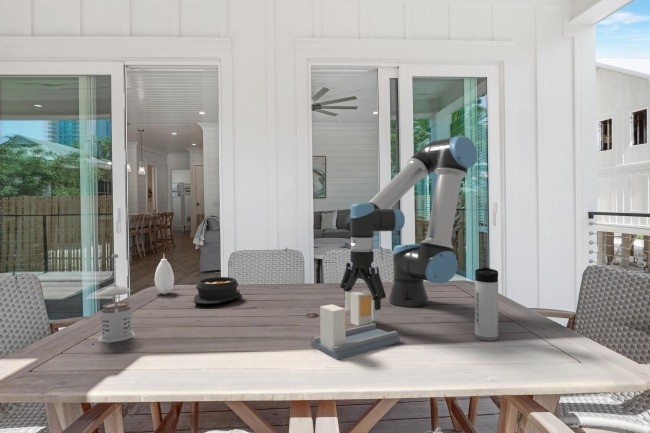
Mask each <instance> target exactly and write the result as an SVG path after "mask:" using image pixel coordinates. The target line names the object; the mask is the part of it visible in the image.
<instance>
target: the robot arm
mask: <svg viewBox="0 0 650 433" xmlns="http://www.w3.org/2000/svg"><path fill="white" fill-rule="evenodd" d="M477 159H478V152H477V147H476V146H475V144H474V141H472V140H471V139H470V138H469V137H467V136H465V135H464V136H463V135H460V136H459V135H458V136H452V137H448V138H443V139H438V140H433V141H431V142H429V143H427V144H425V145H424V146H423V147H422V148H420V149H419V150H418V151H417V152H415V153H414V154H413V155H412V156H411V157H410V158H409V159H408V161H407V164H406V165H405V167H403V168H402V170H400V171H399V172H398V173H397V174H396V175H395V176H394V177H393V178H392V179H391V180H390V181H389V182H388V183H387V184H385V186H384V187H383V188H381V189H380V191H379V192H377V193H376V194H375V195H374V196H373V197H372V199H370V200H369V201H368V202H367V203H366V202H362V203H361V202H360V203H359V202H356V203H355V202H354V203H352V204H351V206H350V215H349V217H350V250H351V251H350V262H346V264H345V271H344V274H343V277H342V280H341V282H340V286H339V287H340V289H343V292H344V309H345V311H346V312H349V311H351V293H352V292H354V291H353V287H354V285H355V284H356V282H357V281H358V279H360V280H363V282H365V284H366V285H367V288H368V291H369V292H371V294H372V320H373V321H377V320H378V321H379V320H380V315H381V314H380V313H381V312H380V311H381V308H382V307H381V306H382V304H381V301H382V300H383V299H385V298H386V297H387V295H386V292H385V288H384V285H383V282H382V278H381V275H380V269H379V267H378V266H376V267H375V266H374V267H373V266H372V263H373V262H374V251H373V250H374V248H375V245H374V244H375V243H374V242H375V241H374V240H375V238H374V234H375V232H398V231H401V230H402V229H403V228H404V225H405V221H406V219H405V214H404V212H403V211H402V210H400V209H397V208H396V209H395V208H392V207H394V205H396V203H398V202H399V201H400V200H401V199H402V198H403V197H404V195H406V194H407V193H408V192H409V191H410V190H411V189H412V188H413V187H414V186H415V185H416V184H417V183H418V182H419V181H420V180H421V179H425V178H427V177H428V175H430V174H432V173H435V174H436V176H437V178H436V184H435V188H434V195H433V200H432V203H431V204H432V206H431V211H430V216H429V220H428V221H429V222H428V226H427V232H426V236H425V237H426V238H425V239H424V240H422V241H421V242H420V243H412V244H400V245H399V244H398V245H395V246H394V247H393V254H392V257H393V258H392V260H393V261H392V262H393V263H392V264H393V269H392V270H393V282H392V283H393V284H392V287H391V291H390V293H389V295H388V302H389V303H390V304H392V305H394V306H397V307H398V306H400V307H406V308H407V307H408V308H410V307H411V308H416V307H423V306H424V307H425V306H427V305H428V304H429V296H428V295H427V290H426V287H425V282H424V281H427V282H429V283H433V284H445V283H448V282H450V280H452V279H453V278H454V276H456V273H457V270H458V268H459V266H458V265H459V262H458V259H457V258H458V257H457V256H456V254H455V253H454V246H453V245H452V243H451V240H452V234H453V230H454V229H453V228H454V225H455V224H454V222H455V218H456V212H457V206H458V200H459V195H460V190H461V183H462V179H464V178H466V177H467V176H468V171H469V170H468V169H469V168H471V167H473V166H474V165H475V164H476V162H477V161H478V160H477Z"/></svg>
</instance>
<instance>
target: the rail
mask: <svg viewBox="0 0 650 433" xmlns="http://www.w3.org/2000/svg"><path fill="white" fill-rule="evenodd" d="M319 311H320V312H319V319H320V321H319V326H320V327H319V329H320V330H319V333H320V334H319V335H317V336H314V337H312V338H313V340H311V342H310V343H311V347H312V346H313V347H312V348H315V349H316V350H318V351H320V352H321V353H324V354H325V355H328V356H329V357H331V358H333V359H335V360H336V361H338V360H343V359H345V358H348V357H352V356H355V355H359V354H363V353H366V352H370V351H373V349H374V350H376V349H380V348H384V347H387V346H390V345H394V344H398V343H400V342H401V337H400V336H399V335H398V331H396V330H392V331H389V332H388V331H385V330H382V329H380V328H378V327H377V323H375V322H373V323H369V324H364V325H360V326H355V327H352V328H347V311H345V307H341V306H339V305H336V304H327V305H321V306H319ZM397 342H398V343H397ZM369 350H370V351H369Z"/></svg>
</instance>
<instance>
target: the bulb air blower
mask: <svg viewBox="0 0 650 433" xmlns="http://www.w3.org/2000/svg"><path fill="white" fill-rule="evenodd" d="M162 255H163V258H162V259H160V262H159V264H158V265H157V266H156V270H155V274H154V285H155V288H156V291H158V293H159V292H160V294H162V295H166V294H167V295H168V293H170V292H171V291H172V290H173V287H174V283H175V275H174V270H173V268H172V266H171V263H170V262H168V259H167V258H165V253H163V254H162Z"/></svg>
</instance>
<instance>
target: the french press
mask: <svg viewBox="0 0 650 433" xmlns="http://www.w3.org/2000/svg"><path fill="white" fill-rule="evenodd" d="M110 258H111V259H114V263H116V259H118V258H119V254H117V253H112V254H111V256H110ZM116 270H117V269H116V266H114V285H113V286H108V287H107V288H104V290H102V291H100V295H102V296H105V297H109V296H110V297H111V296H112V302H108V303H105V304H103V305H102V308H103V309H102V310H100V311H101V312H100V317H101V318H100V320H101V323H100V324H101V335H100V337H99V338H98V341H99V342H102V343H114V342H115V343H118V342H120V341H126V340H128V339H131V338H133V337H135V335H136V334H135V332H134V331H133V330H132V308H131V307H130V306H129V305H130V302H128V301H121V300H120V299H121V298H120V296H122V295H126V294H129V293H131V288H129V287H127V286H124V285H117V278H116V274H117V272H116ZM117 299H118V301H117ZM116 310H117V312H116Z"/></svg>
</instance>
